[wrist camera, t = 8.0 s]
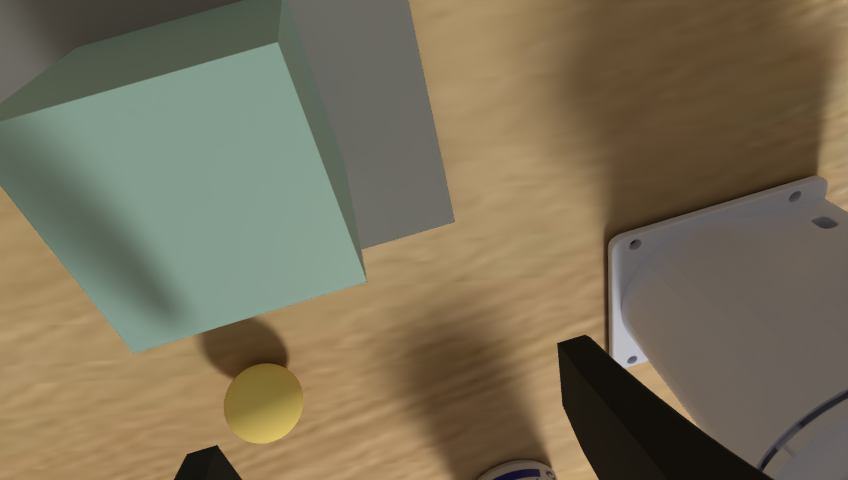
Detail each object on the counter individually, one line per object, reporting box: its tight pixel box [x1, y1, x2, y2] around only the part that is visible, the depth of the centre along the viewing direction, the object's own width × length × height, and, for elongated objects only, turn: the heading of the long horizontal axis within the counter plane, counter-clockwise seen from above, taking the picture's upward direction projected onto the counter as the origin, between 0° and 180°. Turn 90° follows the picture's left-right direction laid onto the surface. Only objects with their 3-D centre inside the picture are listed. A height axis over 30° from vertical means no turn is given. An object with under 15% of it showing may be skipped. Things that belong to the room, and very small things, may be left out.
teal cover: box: [0, 0, 367, 354], centre depth 13 cm, size 6×6×6 cm
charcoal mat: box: [0, 0, 455, 249], centre depth 16 cm, size 12×12×1 cm
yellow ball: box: [224, 363, 303, 443], centre depth 21 cm, size 3×3×3 cm
